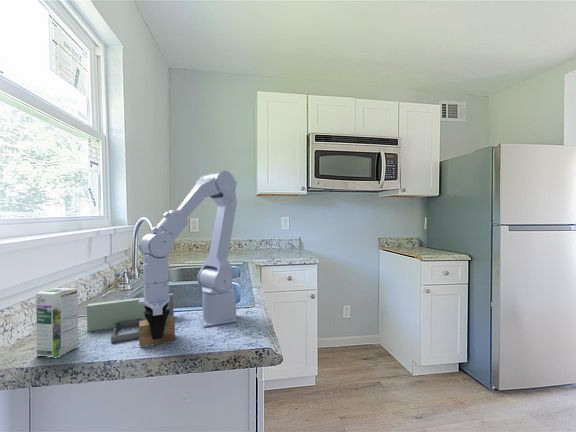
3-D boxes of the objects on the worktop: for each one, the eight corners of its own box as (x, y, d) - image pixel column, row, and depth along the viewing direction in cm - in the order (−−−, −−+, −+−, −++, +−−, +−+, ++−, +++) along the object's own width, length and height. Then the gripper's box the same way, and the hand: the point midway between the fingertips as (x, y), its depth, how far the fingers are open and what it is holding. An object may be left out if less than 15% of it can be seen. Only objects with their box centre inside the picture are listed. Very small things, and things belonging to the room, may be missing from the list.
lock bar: (173, 334, 77) (173, 315, 77) (175, 340, 74) (174, 320, 74) (139, 340, 74) (139, 321, 74) (139, 347, 70) (139, 326, 70)
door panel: (173, 316, 92) (172, 293, 92) (173, 318, 89) (173, 294, 89) (88, 328, 82) (88, 303, 82) (87, 331, 80) (86, 305, 80)
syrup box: (34, 357, 66) (33, 293, 66) (59, 345, 72) (58, 286, 72) (56, 359, 65) (55, 293, 65) (79, 347, 71) (78, 287, 71)
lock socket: (141, 323, 85) (141, 318, 85) (141, 337, 76) (141, 332, 76) (115, 328, 82) (115, 322, 82) (111, 343, 73) (111, 337, 73)
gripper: (139, 277, 79) (140, 327, 79) (137, 289, 65) (138, 350, 66) (167, 274, 82) (168, 323, 82) (171, 286, 69) (172, 344, 69)
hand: (157, 335), depth 74 cm, fingers closed on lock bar, 4 cm apart
